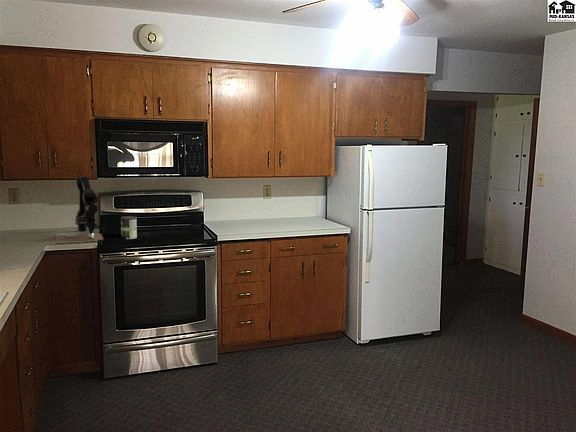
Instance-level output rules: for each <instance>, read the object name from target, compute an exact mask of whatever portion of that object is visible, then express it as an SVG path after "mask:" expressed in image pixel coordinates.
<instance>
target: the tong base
mask: <svg viewBox="0 0 576 432" xmlns="http://www.w3.org/2000/svg"><path fill="white" fill-rule="evenodd" d="M88 233H89V232H79V233H78V232H77V233H57V235H56V236H57V237H63V236H64V235H77V236H81V235H89V234H88Z"/></svg>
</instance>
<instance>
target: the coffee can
mask: <svg viewBox="0 0 576 432" xmlns="http://www.w3.org/2000/svg"><path fill="white" fill-rule="evenodd" d="M137 218H138V217H137V216H134V215H128V216H127V215H125V216H124V215H123V216H121V217H120V231H121V232H120V236H121V237H122V238H125V239H126V240H133V239H137V237H138V234H137Z"/></svg>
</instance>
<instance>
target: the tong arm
mask: <svg viewBox="0 0 576 432" xmlns="http://www.w3.org/2000/svg"><path fill="white" fill-rule="evenodd" d="M87 233H88V234H89V236H77V235H64V237H72V238H86V239H95V237H94V234H95V232H93V233H90V232H87Z"/></svg>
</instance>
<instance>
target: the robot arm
mask: <svg viewBox="0 0 576 432" xmlns="http://www.w3.org/2000/svg"><path fill="white" fill-rule="evenodd" d="M78 177H79V178H77V177H76V178H75V179H76V180H75V179H74V182H75V185H76V187H77V189H78V210H77V212H76V216H75V219H74V225H76V226H77V231H78V232H79V233H85V232H86V231H89V232H88V233H94V230H95V229H96V227H97V226H98V223H97V221H96V213H97V212H98V208H99V207H98V206H97V205H96V204H97V203H98V201H99V200H98V196H97V194H96V192H95V191H94V189H92V188H91V184H90V177H88V176H87V175H86V176H78ZM87 228H88V230H87Z"/></svg>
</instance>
